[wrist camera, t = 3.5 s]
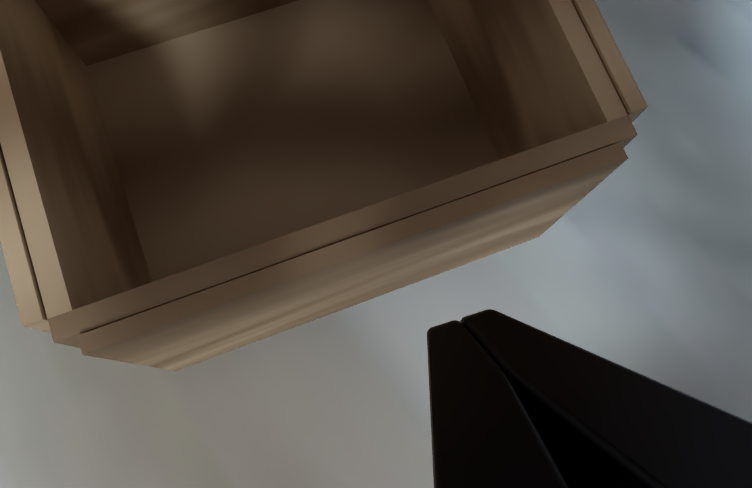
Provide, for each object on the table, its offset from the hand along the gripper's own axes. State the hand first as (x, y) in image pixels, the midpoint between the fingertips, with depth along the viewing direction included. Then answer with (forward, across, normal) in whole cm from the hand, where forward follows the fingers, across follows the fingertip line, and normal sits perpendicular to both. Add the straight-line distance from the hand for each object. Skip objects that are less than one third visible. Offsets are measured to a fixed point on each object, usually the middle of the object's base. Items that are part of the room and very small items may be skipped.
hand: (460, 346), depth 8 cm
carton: (+16, 0, +3) cm, 16 cm away
